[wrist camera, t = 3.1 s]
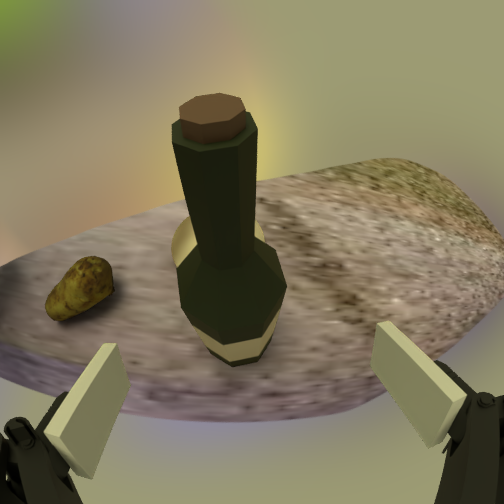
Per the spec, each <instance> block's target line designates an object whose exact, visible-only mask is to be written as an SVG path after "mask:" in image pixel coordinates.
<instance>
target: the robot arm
mask: <svg viewBox="0 0 504 504" xmlns="http://www.w3.org/2000/svg"><path fill="white" fill-rule="evenodd" d="M370 367H371V368H372V370H373V371H374V373H375V374H376V375H377V377H378V378H379V379H380V381H381V382H382V384H383V385H384V386H385V388H386V389H387V390H388V392H389V393H390V395H391V396H392V397H393V399H394V400H395V402H396V403H397V404H398V406H399V407H400V408H401V410H402V411H403V413H404V414H405V416H406V417H407V418H408V420H409V421H410V423H411V424H412V425H413V427H414V429H415V430H416V431H417V433H418V434H419V436H420V437H421V439H422V440H423V441H424V443H425V444H426V446H427V447H428V449H429V448H431V447H433V446H435V445H437V444H439V443H441V442H442V441H443V439H444V438H445V436H446V434H447V433H449V435H450V436H451V438H450V440H449V441H448V443H447V445H446V446H445V448H444V449H443V452H442V453H445V451H446V449H447V454H446V459H445V464H444V469H443V473H442V477H441V481H440V485H439V489H438V493H437V496H436V499H435V503H434V504H504V395H502V396H498V397H494V396H493V395H492V394H490V393H486V392H479V393H476V392H475V391H474V390H472V388H471V387H469V386H468V385H467V384H466V383H465V382H464V381H463V380H462V379H461V378H460V377H458V375H457V374H456V373H455V372H453V371H452V370H451V369H450V368H449V367H448V366H447V365H446V364H444V363H442V362H440V361H438V360H436V361H432V360H431V359H430V358H429V357H428V356H427V355H426V354H425V353H423V352H422V351H421V350H420V349H419V348H418V347H417V346H416V345H415V344H414V343H413V342H412V341H411V340H410V339H409V338H407V337H406V336H405V335H404V334H403V333H402V332H401V331H400V330H399V329H398V328H397V327H395V326H394V325H393V324H392V323H391V322H390V321H386V322H381V323H377V326H376V333H375V339H374V345H373V351H372V357H371V362H370ZM130 386H131V385H130V382H129V379H128V376H127V373H126V370H125V367H124V364H123V361H122V358H121V355H120V352H119V349H118V345H117V343H104V344H103V345H102V347H101V348H100V349H99V351H98V352H97V353H96V355H95V356H94V358H93V359H92V360H91V362H90V363H89V364H88V366H87V367H86V369H85V370H84V372H83V373H82V374H81V376H80V377H79V379H78V380H77V382H76V383H75V384H74V386H73V387H72V389H71V390H70V392H64V393H62V394H61V395H60V396H58V397H57V398H56V400H55V401H54V402H53V404H52V406H51V407H50V408H49V410H48V412H47V413H46V414H45V416H44V417H43V419H42V420H41V422H40V423H39V425H38V426H37V428H36V429H35V430H34V428H33V427H32V425H31V424H30V422H29V421H28V420H27V419H26V418H23V417H15V418H13V419H10V420H9V421H8V422H7V423H6V425H5V427H4V432H5V434H6V435H7V436H8V438H9V439H5V438H4V437H3V436H2V434H1V433H0V504H83V503H82V501H81V498H80V496H79V494H78V492H77V490H76V488H75V485H74V483H73V481H72V479H71V477H70V475H69V474H68V471H69V469H70V468H71V469H72V470H73V471H74V472H75V473H76V475H78V476H81V477H85V478H88V479H93V476H94V473H95V471H96V468H97V465H98V463H99V460H100V457H101V455H102V452H103V450H104V447H105V445H106V442H107V440H108V437H109V435H110V433H111V430H112V427H113V425H114V423H115V421H116V418H117V416H118V414H119V411H120V409H121V407H122V404H123V402H124V400H125V397H126V395H127V393H128V391H129V388H130ZM6 475H7V476H8V479H7V480H6Z"/></svg>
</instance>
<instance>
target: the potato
mask: <svg viewBox="0 0 504 504" xmlns="http://www.w3.org/2000/svg"><path fill="white" fill-rule="evenodd" d="M114 291H115V290H114V286H113V276H112V268H111V266H110V264H109V263H108V261H106V260H105V259H103V258H100V257H96V256H89V257H84V258H82V259H80V260H79V261H77V262H76V263H75V264H74V265H73V266H72V267H71V268H70V269H69V270H68V272H67V273H66V274H65V276H64V277H63V279H62V280H61V281H60V282H59V283H58V284H57V285H56V286H55V287H54V289H53V290H52V291H51V293H50V294H49V295H48V298H47V300H46V303H45V309H46V312H47V314H48V315H49V317H51V319H53V320H54V321H64V320H66V319H68V318H72V317H73V316H75V315H78V314H80V313H82V312H84V311H86V310H88V309H89V308H91V307H92V306H94V305H95V304H97V303H98V302H100V301H101V300H103V299H104V298H105V297H106V296H108V295H109V296H110V294H111V295H112V294H113V292H114Z"/></svg>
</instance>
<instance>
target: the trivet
mask: <svg viewBox="0 0 504 504" xmlns="http://www.w3.org/2000/svg"><path fill="white" fill-rule="evenodd" d="M255 237H257V238H258V239H260V240H261V241H263V242H264V243H265V239H264V234H263V231H262V229H261V227H260V225H259V224H258V223H257V221H256V220H255ZM196 245H197V242H196V238H195V234H194V230H193V227H192V223H191V219H190V216H189V217H187V218H186V219H185V220H184V221H183V222H182V223H181V224H180V226H179V227H178V228H177V230H176V232H175V234H174V237H173V240H172V247H171V250H172V256H173V259H174V262H175V264H176V266H177V267H178V266H179V265H180V264H181V262H182V261H183V260H184V259H185V258H186V256H187V255H188V254H189V253H190V252H191V251H192V249H193V248H194V247H195V246H196Z"/></svg>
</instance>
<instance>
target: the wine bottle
mask: <svg viewBox="0 0 504 504" xmlns="http://www.w3.org/2000/svg"><path fill="white" fill-rule="evenodd" d="M245 110H246V109H245V107H244V105H243V103H242V100H241V98H239V97H235V96H231V95H226V94H222V93H216V94H209V95H202V96H196V97H194V98H193V99H191V100H189V101H188V102H186V103H184V104H183V105H181V106H180V107H179V111H180V119H179V120H178V121H176V122H175V123H173V124H172V144H173V149H174V153H175V158H176V162H177V166H178V171H179V175H180V179H181V183H182V187H183V191H184V195H185V200H186V203H187V207H188V211H189V215H190V219H191V223H192V227H193V230H194V234H195V238H196V242H197V245H196V246H195V247H194V248H193V249H192V251H191V252H190V253H189V254H188V255H187V256H186V258H185V259H184V260H183V261H182V262H181V264H180V265H179V266H178V267H177V268H176V269H177V278H178V287H179V295H180V303H181V308H182V310H183V311H184V313H185V315H186V316H187V318H188V319H189V321H190V322H191V324H192V326H193V327H194V329H195V330H196V332H197V333H198V335H199V336H200V338H201V339H202V341H203V342H204V344H205V345H206V347H207V348H208V350H209V351H210V353H211V354H212V355H214V356H216V357H217V358H219V359H220V360H222V361H223V362H225V363H226V364H228V365H230V366H231V367H235V366H240V365H245V364H250V363H254V362H258V360H259V359H260V357H261V355H262V354H263V352H264V351H265V349H266V348H267V346H268V344H269V343H270V341H271V338H272V335H273V332H274V329H275V325H276V322H277V319H278V315H279V312H280V309H281V305H282V302H283V299H284V295H285V292H286V288H287V284H286V281H285V278H284V275H283V272H282V269H281V265H280V262H279V259H278V256H277V253H276V250H275V249H274V248H272V247H271V246H269V245H268V244H266V243H264V242H263V241H261V240H260V239H258V238H257V237H255V206H256V172H257V169H256V168H257V136H258V129H257V126H256V124H255V122H254V120H253V118H252V116H251V114H250V112H246V111H245Z"/></svg>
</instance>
